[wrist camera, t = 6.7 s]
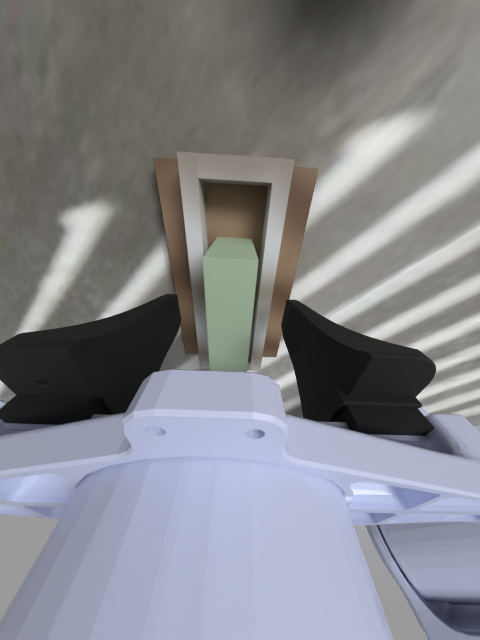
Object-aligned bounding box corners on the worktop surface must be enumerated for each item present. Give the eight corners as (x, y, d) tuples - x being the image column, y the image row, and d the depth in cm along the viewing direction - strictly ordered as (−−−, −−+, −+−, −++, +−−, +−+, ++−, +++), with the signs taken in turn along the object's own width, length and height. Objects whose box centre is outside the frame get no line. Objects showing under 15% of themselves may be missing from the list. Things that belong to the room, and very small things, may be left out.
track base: (274, 350, 20) (279, 371, 18) (187, 347, 20) (180, 367, 18) (313, 171, 12) (333, 161, 9) (159, 161, 11) (136, 148, 9)
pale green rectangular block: (244, 327, 17) (246, 377, 12) (219, 326, 17) (210, 376, 12) (251, 238, 13) (258, 260, 8) (217, 236, 13) (202, 257, 8)
